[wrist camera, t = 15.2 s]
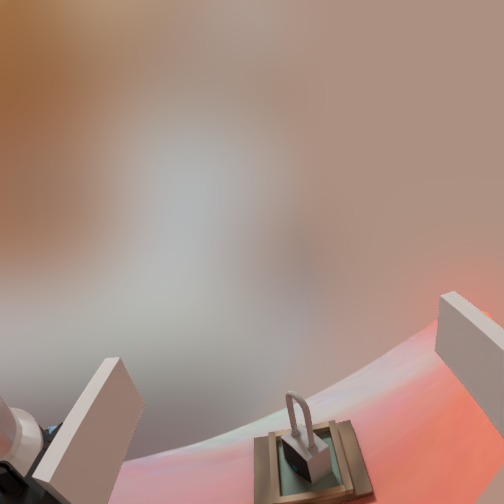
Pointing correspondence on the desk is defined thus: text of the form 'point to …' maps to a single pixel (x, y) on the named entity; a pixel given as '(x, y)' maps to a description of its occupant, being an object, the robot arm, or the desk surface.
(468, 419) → the desk surface
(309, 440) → the padlock
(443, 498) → the desk surface
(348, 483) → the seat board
